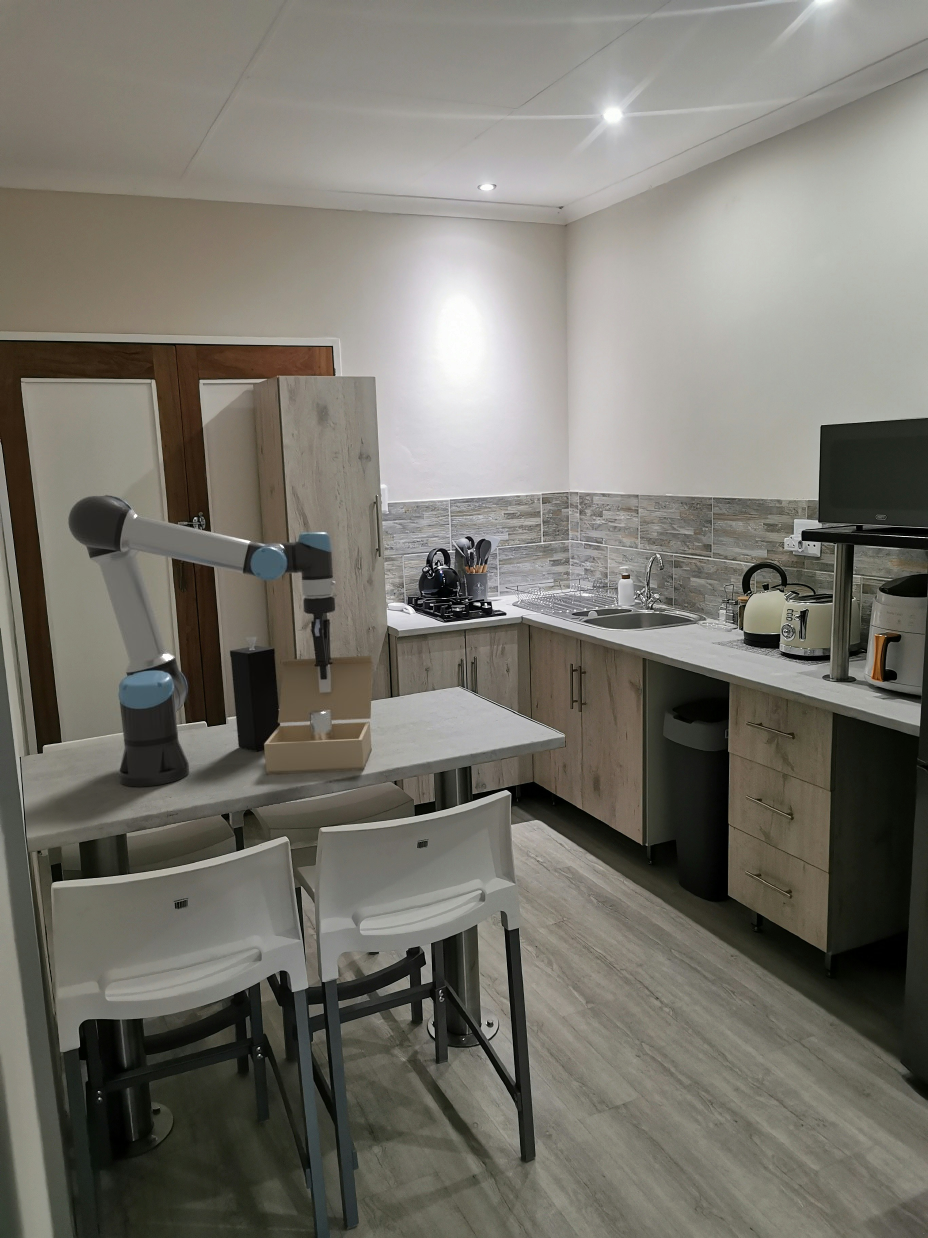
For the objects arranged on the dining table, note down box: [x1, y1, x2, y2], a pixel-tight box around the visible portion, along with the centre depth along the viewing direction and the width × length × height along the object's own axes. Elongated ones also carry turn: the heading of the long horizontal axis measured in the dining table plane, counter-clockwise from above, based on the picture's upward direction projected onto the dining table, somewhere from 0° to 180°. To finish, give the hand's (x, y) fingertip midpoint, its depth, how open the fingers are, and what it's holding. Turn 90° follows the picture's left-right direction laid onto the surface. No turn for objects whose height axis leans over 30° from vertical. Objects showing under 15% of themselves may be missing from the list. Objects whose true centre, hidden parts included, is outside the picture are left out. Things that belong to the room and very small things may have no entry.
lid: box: [278, 655, 373, 724], centre depth 226 cm, size 22×16×3 cm
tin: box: [309, 710, 333, 741], centre depth 218 cm, size 5×5×10 cm
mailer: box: [263, 721, 373, 775], centre depth 215 cm, size 22×16×7 cm
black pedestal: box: [229, 636, 281, 752], centre depth 229 cm, size 8×8×28 cm
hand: (325, 691), depth 226 cm, fingers closed
